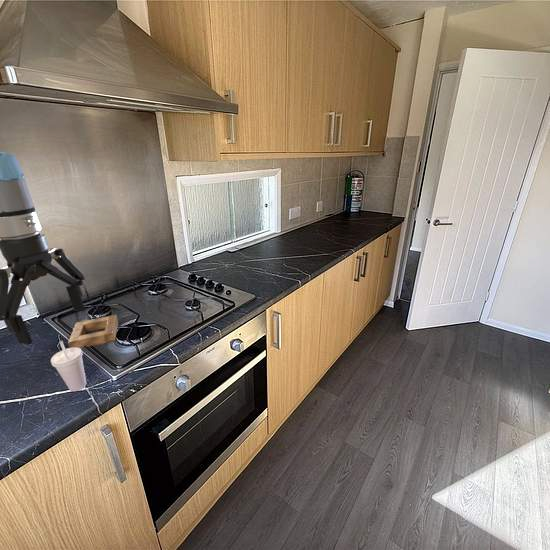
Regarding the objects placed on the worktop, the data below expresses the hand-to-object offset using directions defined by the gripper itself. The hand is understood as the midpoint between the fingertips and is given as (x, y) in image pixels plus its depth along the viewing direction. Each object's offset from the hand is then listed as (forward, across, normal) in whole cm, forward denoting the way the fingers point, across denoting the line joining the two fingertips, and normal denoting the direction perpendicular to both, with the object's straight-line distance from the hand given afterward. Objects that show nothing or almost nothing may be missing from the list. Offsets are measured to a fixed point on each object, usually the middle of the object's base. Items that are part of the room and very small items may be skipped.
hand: (55, 325), depth 67 cm
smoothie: (+18, 0, 0) cm, 18 cm away
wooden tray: (+18, +20, +13) cm, 30 cm away
